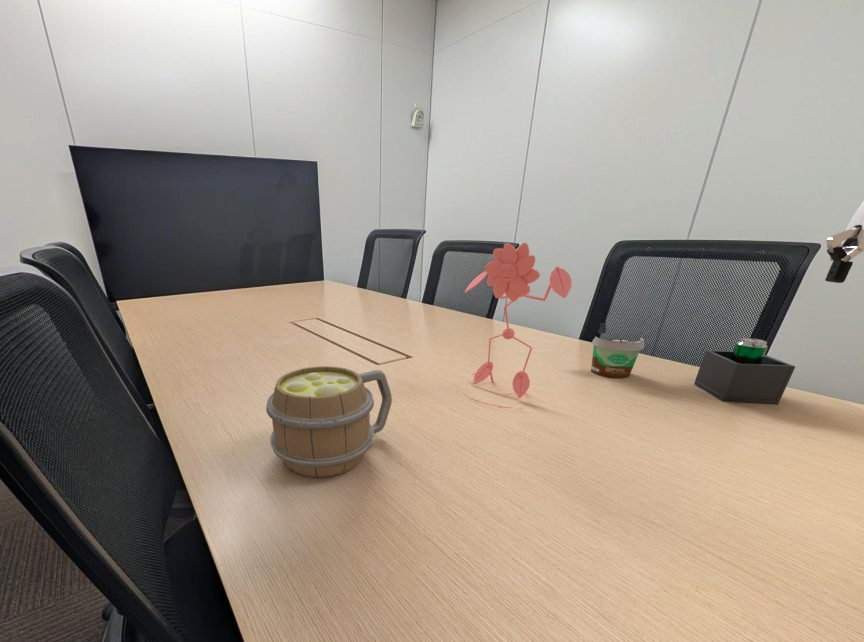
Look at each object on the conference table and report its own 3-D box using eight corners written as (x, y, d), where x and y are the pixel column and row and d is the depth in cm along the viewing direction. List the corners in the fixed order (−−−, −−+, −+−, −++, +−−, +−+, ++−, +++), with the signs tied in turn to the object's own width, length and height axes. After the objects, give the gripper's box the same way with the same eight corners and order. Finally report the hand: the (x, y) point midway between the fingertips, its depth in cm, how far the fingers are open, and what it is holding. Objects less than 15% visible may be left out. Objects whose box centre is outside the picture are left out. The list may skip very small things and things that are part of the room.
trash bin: (742, 386, 93) (757, 351, 89) (778, 404, 83) (795, 366, 80) (693, 384, 95) (705, 350, 91) (722, 401, 85) (737, 364, 82)
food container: (594, 379, 100) (603, 342, 96) (585, 371, 105) (593, 336, 101) (645, 380, 98) (656, 343, 94) (633, 372, 103) (643, 337, 99)
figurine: (468, 372, 106) (482, 241, 93) (559, 402, 87) (593, 242, 74) (431, 385, 98) (440, 243, 85) (522, 421, 79) (553, 245, 65)
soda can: (741, 386, 90) (760, 338, 86) (754, 394, 86) (775, 344, 81) (715, 384, 92) (733, 336, 87) (726, 392, 88) (745, 342, 83)
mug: (420, 451, 69) (424, 376, 63) (297, 500, 58) (288, 413, 52) (365, 414, 84) (364, 350, 78) (259, 446, 72) (248, 374, 67)
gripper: (947, 184, 69) (897, 279, 76) (832, 189, 73) (794, 279, 79) (1002, 179, 62) (943, 284, 69) (873, 184, 66) (828, 284, 72)
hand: (863, 281), depth 74 cm, fingers open, 9 cm apart
